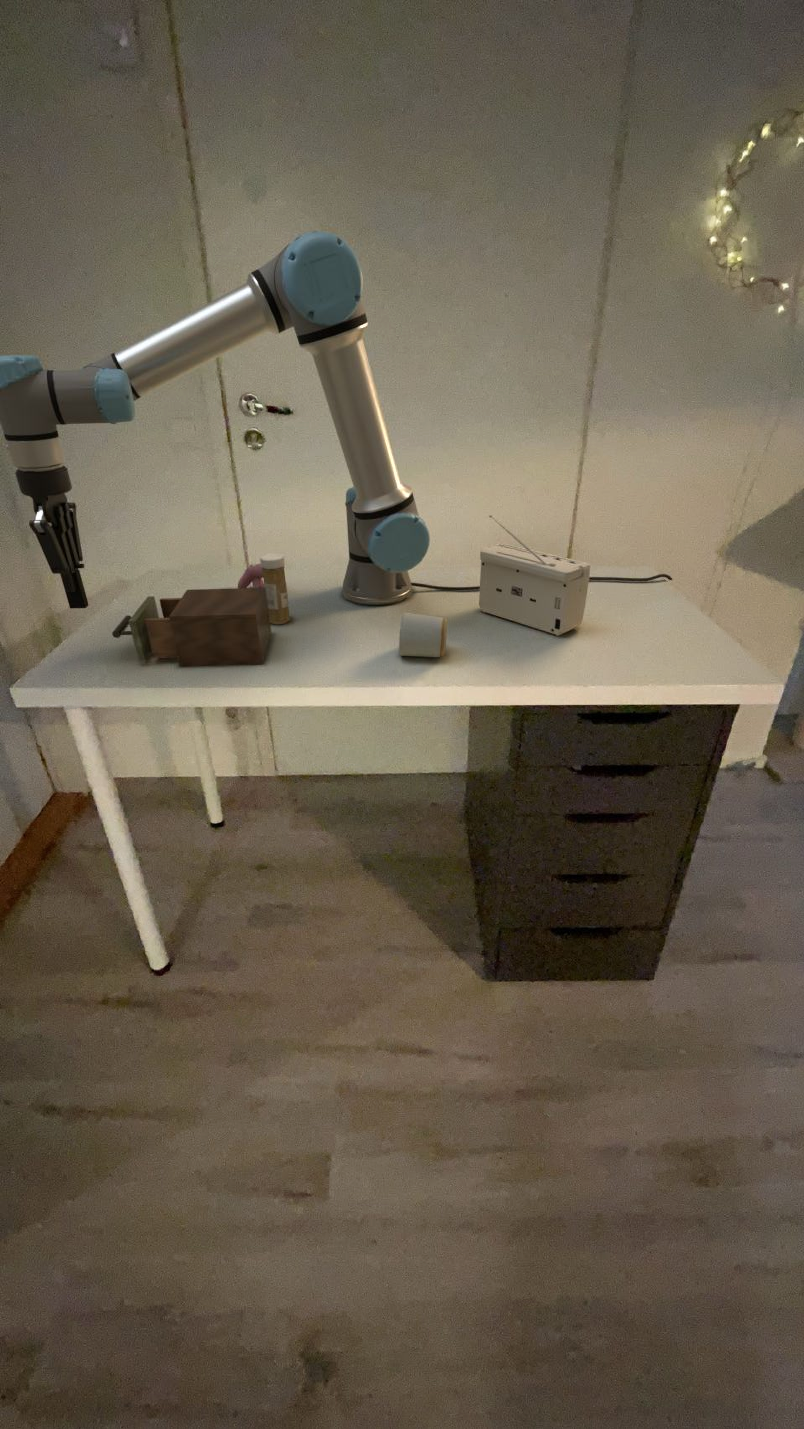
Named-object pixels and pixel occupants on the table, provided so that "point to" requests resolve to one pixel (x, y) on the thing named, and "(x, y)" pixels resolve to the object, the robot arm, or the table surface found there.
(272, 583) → the sprinkles bottle
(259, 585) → the pink curved ring
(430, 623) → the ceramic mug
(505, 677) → the table surface
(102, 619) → the table surface
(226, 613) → the cabinet
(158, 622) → the drawer
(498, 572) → the radio
